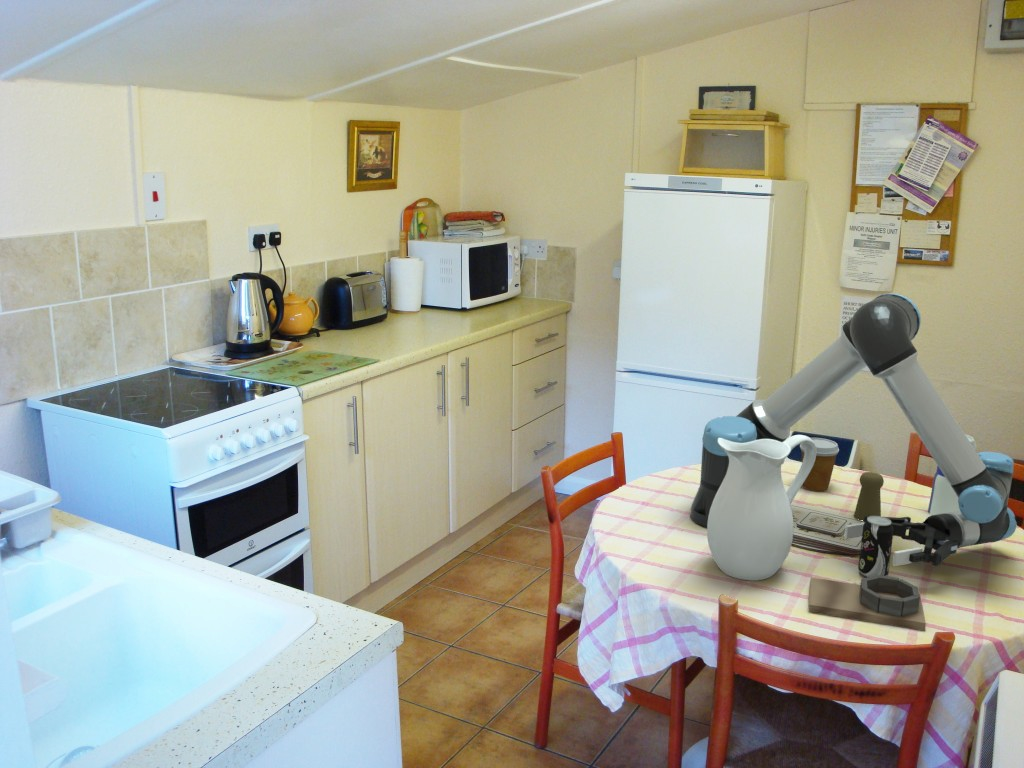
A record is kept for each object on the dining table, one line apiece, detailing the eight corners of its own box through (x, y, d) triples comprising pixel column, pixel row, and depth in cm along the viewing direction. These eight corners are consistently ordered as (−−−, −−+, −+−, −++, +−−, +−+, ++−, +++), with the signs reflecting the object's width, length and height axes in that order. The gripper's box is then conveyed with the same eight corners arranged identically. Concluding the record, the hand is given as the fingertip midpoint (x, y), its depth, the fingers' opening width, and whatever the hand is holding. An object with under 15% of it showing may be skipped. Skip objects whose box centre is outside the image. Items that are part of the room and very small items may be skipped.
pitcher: (737, 594, 177) (749, 457, 170) (688, 559, 192) (696, 432, 185) (833, 573, 187) (848, 443, 180) (779, 541, 202) (790, 420, 195)
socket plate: (808, 611, 171) (810, 589, 170) (810, 584, 182) (812, 563, 181) (924, 630, 165) (927, 607, 163) (919, 600, 176) (921, 579, 174)
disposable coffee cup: (834, 483, 238) (839, 439, 235) (834, 496, 229) (839, 450, 226) (796, 478, 241) (801, 435, 238) (795, 491, 232) (799, 446, 229)
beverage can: (885, 583, 183) (892, 527, 180) (855, 576, 185) (861, 521, 182) (889, 572, 187) (896, 518, 184) (860, 566, 190) (866, 512, 187)
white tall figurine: (968, 523, 213) (983, 420, 207) (928, 517, 216) (941, 416, 210) (964, 510, 221) (978, 411, 215) (925, 505, 224) (939, 407, 217)
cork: (876, 513, 218) (882, 469, 216) (884, 523, 213) (889, 478, 210) (850, 512, 219) (855, 468, 216) (857, 522, 213) (862, 477, 210)
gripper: (997, 572, 181) (914, 589, 173) (902, 525, 203) (825, 538, 196) (1002, 537, 179) (919, 552, 172) (906, 493, 202) (829, 505, 194)
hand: (869, 545), depth 184 cm, fingers open, 13 cm apart
